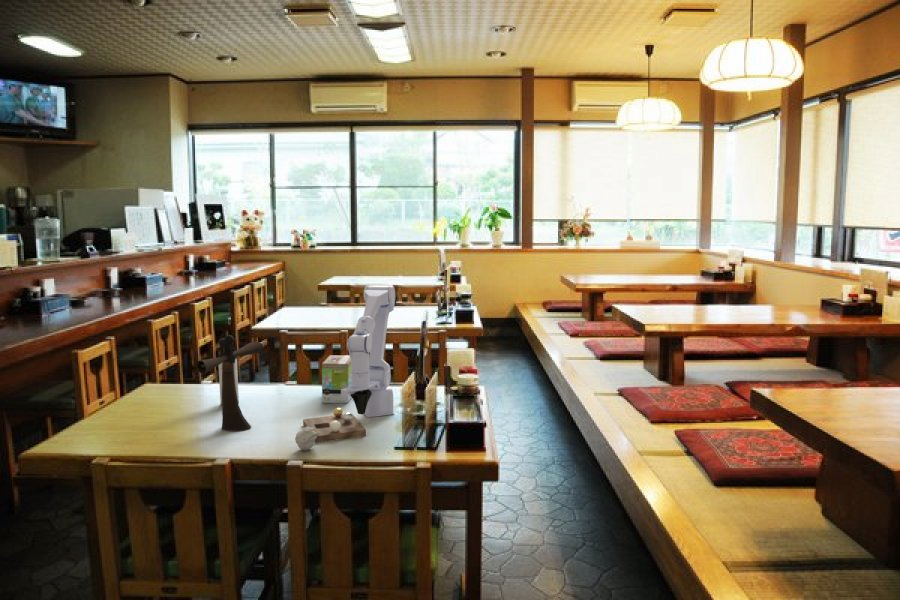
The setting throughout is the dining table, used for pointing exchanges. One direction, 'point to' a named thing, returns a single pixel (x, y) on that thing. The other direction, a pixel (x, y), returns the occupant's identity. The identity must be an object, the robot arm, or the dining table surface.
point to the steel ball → (347, 417)
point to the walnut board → (327, 434)
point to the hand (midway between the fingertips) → (361, 413)
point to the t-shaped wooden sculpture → (230, 381)
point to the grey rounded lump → (306, 438)
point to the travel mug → (234, 376)
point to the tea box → (336, 378)
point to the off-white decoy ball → (335, 426)
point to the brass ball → (337, 412)
